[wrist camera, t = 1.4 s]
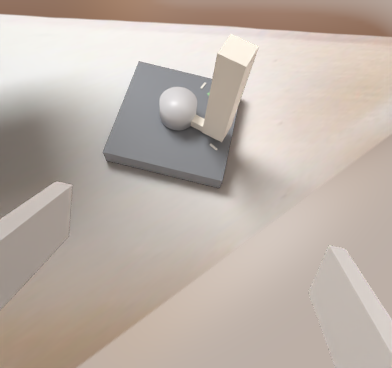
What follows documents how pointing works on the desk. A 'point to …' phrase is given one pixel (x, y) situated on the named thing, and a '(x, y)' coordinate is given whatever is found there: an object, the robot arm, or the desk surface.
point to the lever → (213, 93)
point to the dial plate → (166, 130)
